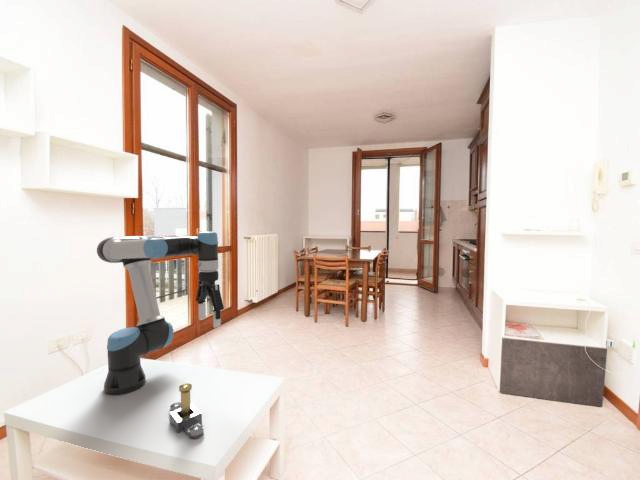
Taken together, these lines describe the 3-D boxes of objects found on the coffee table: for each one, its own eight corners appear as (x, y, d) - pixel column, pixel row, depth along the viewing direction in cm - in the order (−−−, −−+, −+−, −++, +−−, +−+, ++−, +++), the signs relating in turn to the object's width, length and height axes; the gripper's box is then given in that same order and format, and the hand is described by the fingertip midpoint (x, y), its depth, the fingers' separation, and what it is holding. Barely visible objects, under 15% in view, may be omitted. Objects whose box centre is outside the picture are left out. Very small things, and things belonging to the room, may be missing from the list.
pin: (177, 422, 111) (177, 386, 110) (189, 417, 114) (188, 382, 113) (182, 427, 108) (181, 390, 107) (194, 422, 111) (193, 386, 110)
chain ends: (162, 413, 116) (162, 403, 116) (185, 404, 122) (185, 395, 122) (186, 443, 100) (185, 433, 100) (210, 432, 106) (210, 422, 106)
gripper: (186, 268, 134) (188, 317, 136) (213, 275, 116) (214, 332, 118) (204, 266, 140) (205, 314, 141) (232, 273, 121) (233, 328, 123)
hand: (209, 322), depth 129 cm, fingers open, 13 cm apart
